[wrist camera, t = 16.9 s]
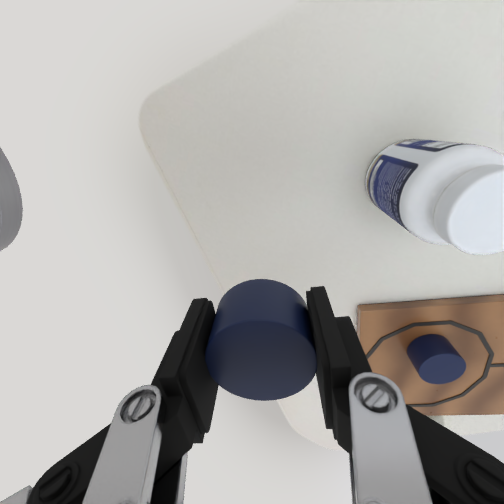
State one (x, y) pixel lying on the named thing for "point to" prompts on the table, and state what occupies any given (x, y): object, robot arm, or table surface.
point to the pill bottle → (442, 192)
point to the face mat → (459, 335)
